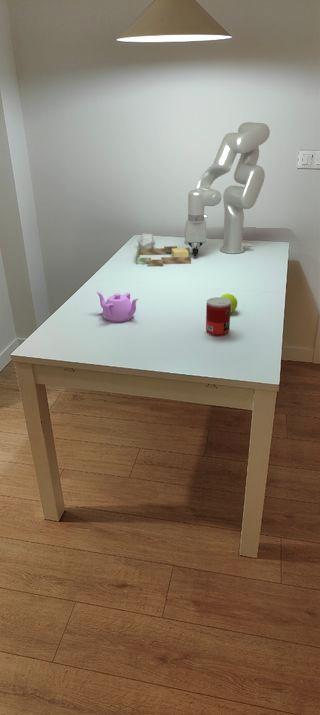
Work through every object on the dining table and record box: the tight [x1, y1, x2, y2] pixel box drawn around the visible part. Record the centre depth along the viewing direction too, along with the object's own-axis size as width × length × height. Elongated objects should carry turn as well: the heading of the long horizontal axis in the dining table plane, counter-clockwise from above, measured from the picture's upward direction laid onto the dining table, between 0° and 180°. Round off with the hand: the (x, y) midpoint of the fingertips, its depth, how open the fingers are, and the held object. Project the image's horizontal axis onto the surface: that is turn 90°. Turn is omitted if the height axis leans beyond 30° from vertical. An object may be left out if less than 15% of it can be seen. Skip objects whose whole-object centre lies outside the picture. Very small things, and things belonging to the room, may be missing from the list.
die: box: [136, 233, 156, 249], centre depth 266 cm, size 8×9×10 cm
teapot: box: [95, 291, 139, 323], centre depth 185 cm, size 12×14×9 cm
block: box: [171, 247, 190, 257], centre depth 250 cm, size 7×7×4 cm
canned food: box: [205, 296, 231, 337], centre depth 172 cm, size 8×8×11 cm
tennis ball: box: [220, 293, 238, 314], centre depth 188 cm, size 7×7×7 cm
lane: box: [135, 245, 192, 267], centre depth 250 cm, size 26×23×4 cm
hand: (195, 256), depth 250 cm, fingers closed
